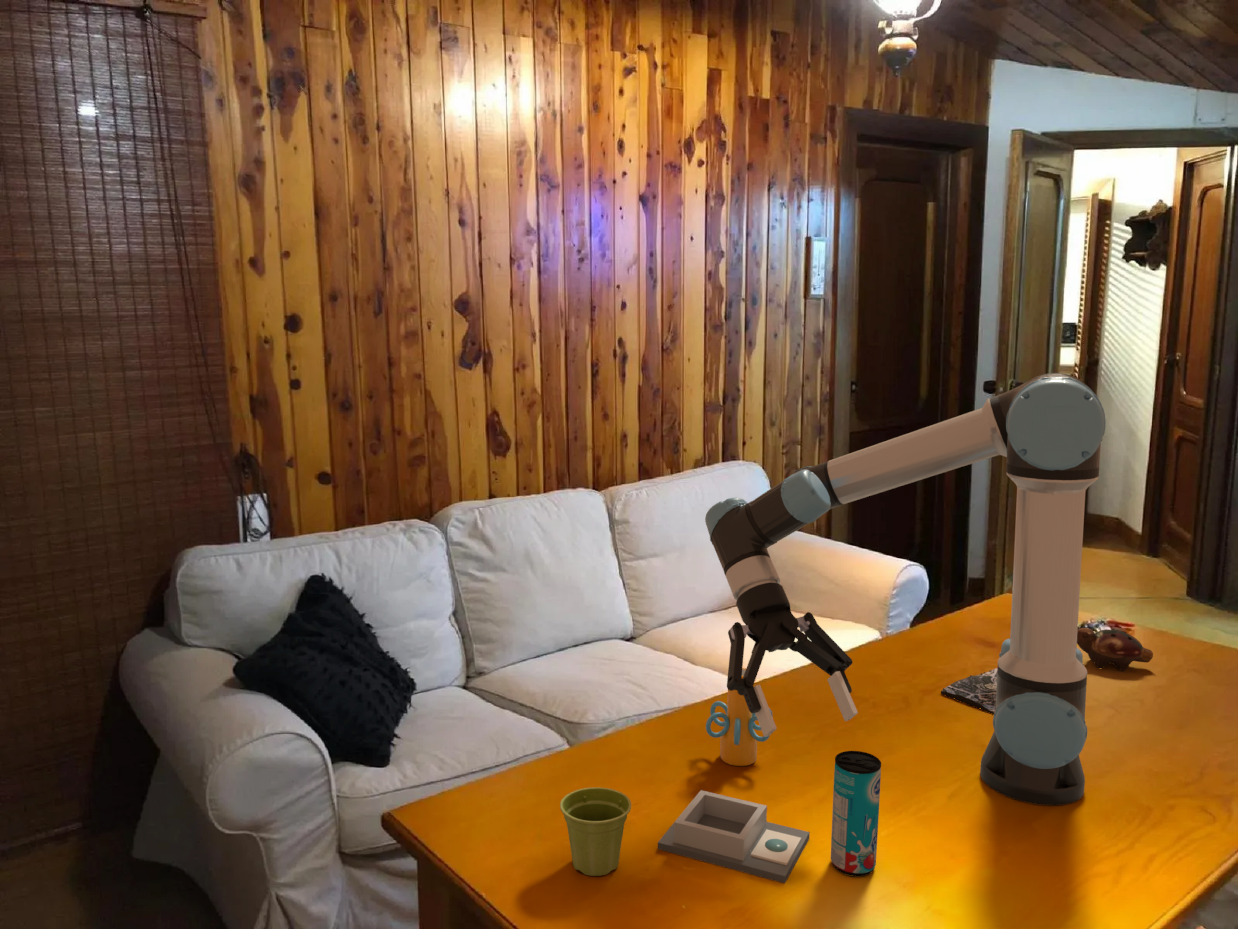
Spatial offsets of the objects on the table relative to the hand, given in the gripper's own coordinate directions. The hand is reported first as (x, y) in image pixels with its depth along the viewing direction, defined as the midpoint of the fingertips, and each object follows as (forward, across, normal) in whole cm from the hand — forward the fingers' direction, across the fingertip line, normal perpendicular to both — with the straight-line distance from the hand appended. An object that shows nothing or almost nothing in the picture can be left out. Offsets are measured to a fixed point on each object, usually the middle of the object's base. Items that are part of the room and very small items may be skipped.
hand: (811, 725), depth 137 cm
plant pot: (+9, +31, -14) cm, 35 cm away
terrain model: (-7, -64, -30) cm, 71 cm away
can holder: (+11, +12, -12) cm, 20 cm away
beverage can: (+18, 0, -4) cm, 19 cm away
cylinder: (-5, -2, -28) cm, 28 cm away
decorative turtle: (-9, -97, -32) cm, 102 cm away
